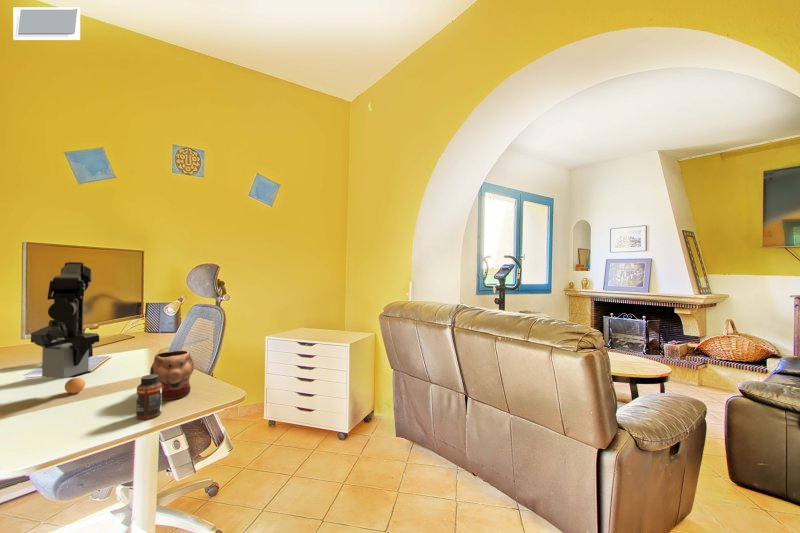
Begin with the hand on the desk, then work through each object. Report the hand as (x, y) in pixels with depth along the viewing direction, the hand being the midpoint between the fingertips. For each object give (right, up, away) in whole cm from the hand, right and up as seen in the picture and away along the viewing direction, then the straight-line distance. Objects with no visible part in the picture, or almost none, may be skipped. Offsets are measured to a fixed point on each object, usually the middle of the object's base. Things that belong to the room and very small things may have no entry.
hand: (65, 364), depth 114 cm
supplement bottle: (+36, -11, -12) cm, 39 cm away
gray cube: (0, -3, 0) cm, 3 cm away
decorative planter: (+31, -11, +5) cm, 34 cm away
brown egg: (0, -8, +3) cm, 8 cm away
